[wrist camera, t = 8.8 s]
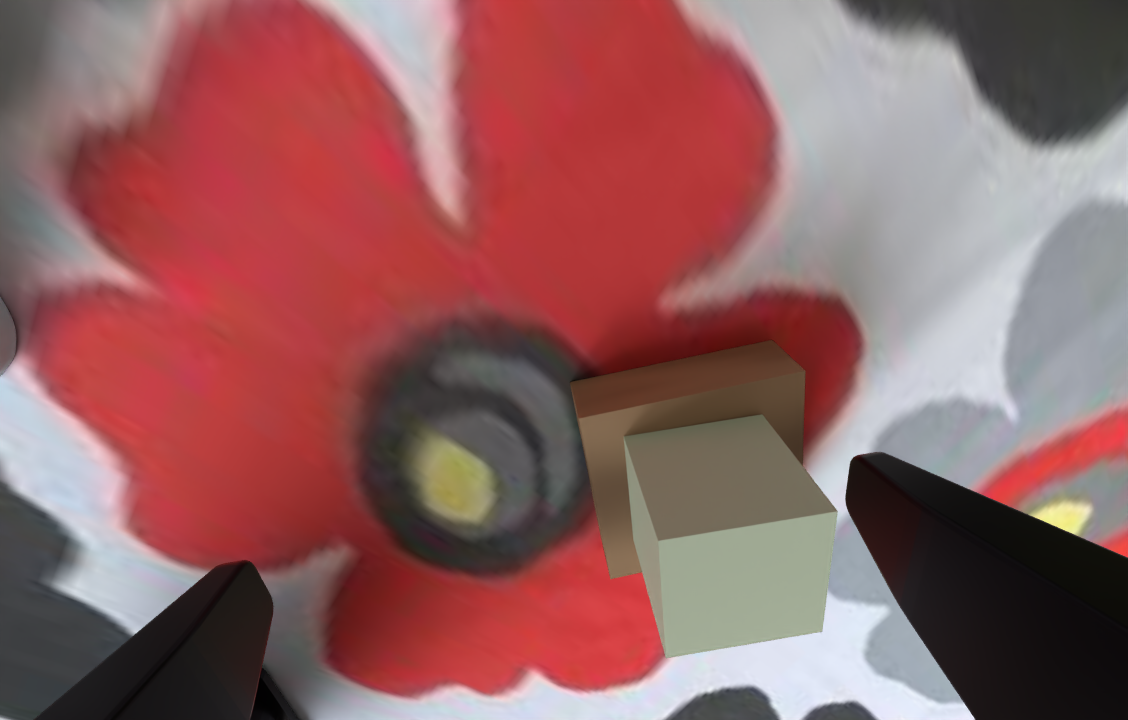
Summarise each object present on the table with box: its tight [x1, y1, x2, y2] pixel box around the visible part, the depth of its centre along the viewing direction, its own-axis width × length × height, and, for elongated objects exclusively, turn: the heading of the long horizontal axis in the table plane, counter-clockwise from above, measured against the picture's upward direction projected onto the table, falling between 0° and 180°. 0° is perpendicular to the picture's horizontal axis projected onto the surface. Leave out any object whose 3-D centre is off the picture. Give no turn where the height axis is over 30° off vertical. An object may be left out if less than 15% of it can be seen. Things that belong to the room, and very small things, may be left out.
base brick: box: [570, 340, 805, 579], centre depth 22 cm, size 8×8×3 cm
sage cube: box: [624, 414, 838, 658], centre depth 18 cm, size 5×5×5 cm
